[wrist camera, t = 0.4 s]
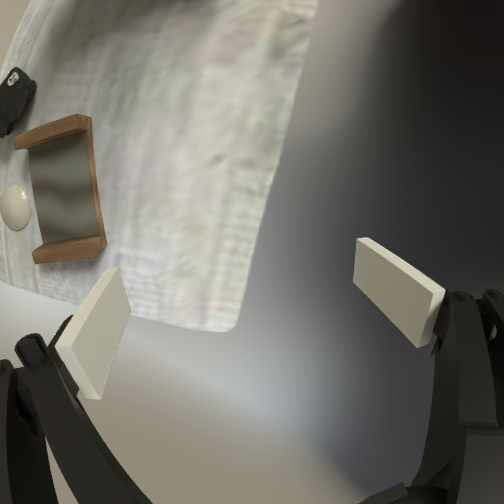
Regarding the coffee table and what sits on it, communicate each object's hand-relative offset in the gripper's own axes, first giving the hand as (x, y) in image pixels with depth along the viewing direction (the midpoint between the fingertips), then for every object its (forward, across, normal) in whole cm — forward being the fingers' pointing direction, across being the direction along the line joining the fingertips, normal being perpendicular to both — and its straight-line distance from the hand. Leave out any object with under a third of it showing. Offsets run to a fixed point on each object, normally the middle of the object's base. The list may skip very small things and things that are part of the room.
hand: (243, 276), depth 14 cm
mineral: (+27, -32, +22) cm, 48 cm away
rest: (+27, -24, +5) cm, 37 cm away
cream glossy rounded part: (+27, -36, +4) cm, 46 cm away
